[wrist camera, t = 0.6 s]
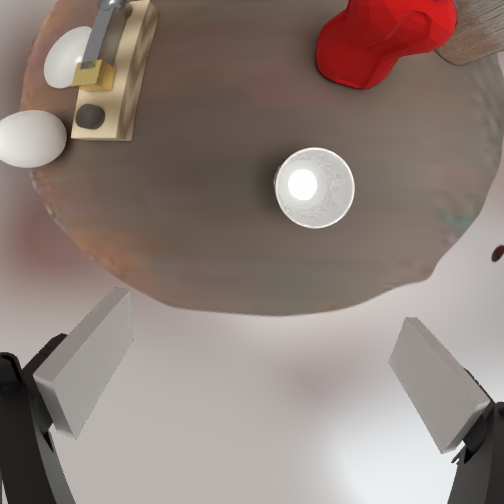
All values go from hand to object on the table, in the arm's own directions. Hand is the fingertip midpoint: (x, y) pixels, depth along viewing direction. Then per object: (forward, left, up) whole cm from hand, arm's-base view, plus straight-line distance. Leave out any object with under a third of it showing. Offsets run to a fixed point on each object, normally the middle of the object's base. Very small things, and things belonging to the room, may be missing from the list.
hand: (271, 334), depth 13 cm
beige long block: (-19, -22, -27) cm, 40 cm away
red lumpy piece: (-25, +9, -27) cm, 38 cm away
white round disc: (-23, -33, -27) cm, 48 cm away
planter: (-37, +26, -27) cm, 53 cm away
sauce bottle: (-9, -32, -27) cm, 42 cm away
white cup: (-6, +4, -27) cm, 28 cm away
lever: (-22, -22, -21) cm, 38 cm away
